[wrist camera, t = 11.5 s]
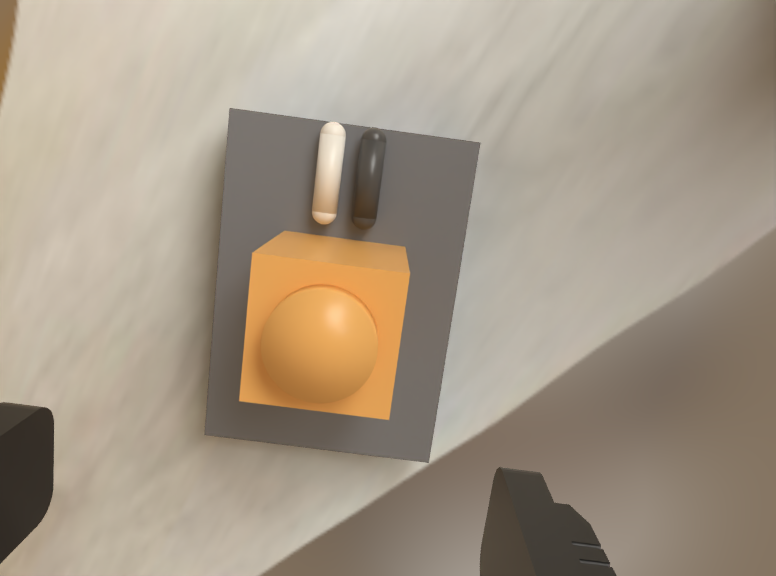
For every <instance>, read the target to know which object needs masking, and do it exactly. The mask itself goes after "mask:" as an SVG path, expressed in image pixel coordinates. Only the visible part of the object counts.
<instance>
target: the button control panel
mask: <svg viewBox="0 0 776 576" xmlns="http://www.w3.org/2000/svg"><path fill="white" fill-rule="evenodd" d="M479 148H480V143H479V142H471V141H464V140H457V139H450V138H443V137H435V136H428V135H421V134H414V133H406V132H399V131H392V130H385V129H379V128H370V127H363V126H356V125H349V124H341V123H337V122H327V121H320V120H313V119H305V118H298V117H291V116H284V115H276V114H269V113H262V112H255V111H248V110H240V109H233V108H230V110H229V124H228V137H227V150H226V163H225V176H224V189H223V202H222V215H221V228H220V241H219V254H218V267H217V280H216V293H215V306H214V319H213V332H212V345H211V358H210V371H209V384H208V397H207V410H206V423H205V435H210V436H218V437H226V438H234V439H242V440H250V441H258V442H266V443H274V444H282V445H290V446H298V447H306V448H314V449H322V450H330V451H338V452H346V453H354V454H362V455H370V456H379V457H387V458H395V459H403V460H411V461H419V462H427V463H429V458H430V452H431V445H432V439H433V433H434V427H435V421H436V414H437V408H438V402H439V396H440V390H441V383H442V377H443V371H444V365H445V359H446V352H447V346H448V340H449V334H450V328H451V321H452V315H453V309H454V303H455V297H456V290H457V284H458V278H459V272H460V266H461V259H462V253H463V247H464V241H465V235H466V229H467V222H468V216H469V210H470V204H471V198H472V191H473V185H474V179H475V173H476V167H477V160H478V154H479ZM283 231H291V232H299V233H306V234H314V235H321V236H329V237H336V238H344V239H351V240H359V241H366V242H374V243H381V244H389V245H396V246H404V247H405V248H406V254H407V259H408V265H409V270H410V278H409V285H408V292H407V299H406V306H405V313H404V320H403V327H402V333H401V340H400V347H399V354H398V361H397V368H396V375H395V382H394V389H393V396H392V403H391V410H390V417H389V420H385V419H377V418H369V417H361V416H353V415H345V414H337V413H329V412H321V411H313V410H306V409H298V408H290V407H282V406H274V405H266V404H258V403H250V402H242V401H239V396H240V385H241V374H242V362H243V351H244V340H245V328H246V317H247V306H248V294H249V283H250V272H251V260H252V252H254V251H255V250H257V249H258V248H260V247H261V246H263V245H264V244H266V243H267V242H269V241H270V240H272V239H273V238H274V237H276V236H277V235H279V234H280V233H282V232H283Z"/></svg>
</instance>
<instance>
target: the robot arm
mask: <svg viewBox="0 0 776 576" xmlns="http://www.w3.org/2000/svg"><path fill="white" fill-rule="evenodd" d="M53 467H54V419H53V415H52V412H51V411H50V410H49V409H48V408H45V407H37V406H30V405H22V404H14V403H6V402H3V403H0V564H1V562H2V561H3V560H4V559H5V558H6V557H7V556H8V555H9V554H10V553H11V552H12V551H13V550H14V549H15V548H16V547H17V546H18V545H19V544H20V543H21V542H22V541H23V540H24V539H25V538H26V537H27V536H28V535H29V534H30V533H31V532H32V531H33V530H34V529H35V528H36V527H37V526H38V524H39V523H40V522H41V521H42V519H43V517H44V516H45V514H46V512H47V510H48V507H49V505H50V502H51V498H52V493H53ZM480 576H616V574H615V572H614V570H613V568H612V567H610V562H609V560H608V558H607V556H606V554H605V553H604V550H603V549H601V545H600V543H599V541H598V539H597V537H596V535H595V533H594V531H593V529H592V527H591V525H590V524H589V523H588V522H587V521H586V520H585V519H584V518H583V517H582V516H581V515H580V514H578V513H577V512H576V511H575V510H574V509H573V508H572V507H571V506H570V505H567V504H559V503H554V501H553V499H552V497H551V494H550V492H549V490H548V487H547V485H546V483H545V481H544V478H543V476H542V474H541V473H539V472H532V471H524V470H516V469H509V468H500V467H499V468H498V469H497V471H496V473H495V476H494V480H493V486H492V491H491V496H490V502H489V507H488V513H487V518H486V523H485V528H484V534H483V539H482V545H481V554H480Z"/></svg>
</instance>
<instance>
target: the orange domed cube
mask: <svg viewBox="0 0 776 576" xmlns="http://www.w3.org/2000/svg"><path fill="white" fill-rule="evenodd" d="M409 278H410V270H409V265H408V259H407V254H406V248H405V247H404V246H396V245H389V244H381V243H374V242H366V241H359V240H351V239H344V238H336V237H329V236H321V235H314V234H306V233H299V232H291V231H283V232H282V233H280V234H279V235H277V236H276V237H274V238H273V239H272V240H270V241H269V242H267V243H266V244H264V245H263V246H261V247H260V248H258V249H257V250H255V251H254V252H252V260H251V272H250V283H249V294H248V306H247V317H246V328H245V340H244V351H243V362H242V374H241V385H240V396H239V401H242V402H250V403H258V404H266V405H274V406H282V407H290V408H298V409H306V410H313V411H321V412H329V413H337V414H345V415H353V416H361V417H369V418H377V419H385V420H389V417H390V410H391V403H392V396H393V389H394V382H395V375H396V368H397V361H398V354H399V347H400V340H401V333H402V327H403V320H404V313H405V306H406V299H407V292H408V285H409Z"/></svg>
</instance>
